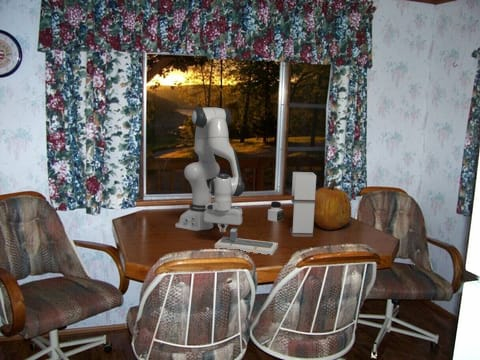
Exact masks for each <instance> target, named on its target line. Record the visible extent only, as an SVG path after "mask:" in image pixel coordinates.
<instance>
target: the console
mask: <svg viewBox="0 0 480 360" xmlns="http://www.w3.org/2000/svg"><path fill="white" fill-rule="evenodd" d="M237 239H238V242H236V241H229V240H230V236H222V237H221V238H220V239H219V240H218V241H217V242H215V244H214V249H219V250H220V248H227V249H240V250H243V251H246V252H245V253H250V252H253V253H252V254H258V253H261V254H260V255H267V254H270V255H269V256H273V255H274V253H275V251H277V249H278V247H279V246H278V245H279V242H275V241H263V240H256V239H255V240H254V239H246V238H240V237H239V238H238V237H237Z"/></svg>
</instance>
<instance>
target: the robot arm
mask: <svg viewBox="0 0 480 360" xmlns="http://www.w3.org/2000/svg"><path fill="white" fill-rule="evenodd" d="M191 122H192V124H193V125H194V126H195V134H194V146H193V147H194V148H193V149H194V152H195V154H197V156H198V161H197V162H192V163H189V164H188V165H186V166H185V168H184V170H183V173H184V177H185V179H186V180H187V181H188V182H189V184H190V186H191V191H192V193H191V194H192V196H191V197H192V202H190V203H189V204H188V206H187V207H188V209H187V210H186V211H184V212H183V213H182V214H181V215H180V217H179V220H178V222H175V224H174V225H175V226H174V227H175V228H178V229H183V230H184V229H185V230H189V231H194V232H195V231H203V230H204V231H206V230H210V229H213V228H214V224H217V226H218V228H219V232H220V233H226V232H227V228H228V226H229V225H233V226H234V225H235V226H240V225H241V224H243V209H242V208H241V206H232V203H233V202H232V200H233V199H232V197H240V196H242V194H243V193H244V192H245V184H244V181H243V177H242V172H241V169H240V165H239V158H238V154H237V152H236V149H235V148H234V147H233V146H232V145H231V143H230V138H229V128H228V126H229V125H231V122H232V114H231V112H230V110H229V109H227V108H224V107H222V108H221V107H220V108H219V107H215V106H214V107H213V106H212V107H195V108H194V109H193V111H192V113H191ZM215 155H216V156H218V157H221V158H224V159H226V160H227V161H228V162H229V164H230V169H231V173H232V177H231V176H230V175H229V174H228V173H220V172H221V171H220V170H221V168H220V164H219V163H218V162H217V161H216V157H215ZM207 180H210V182H209V186H208V182H207ZM212 196H214V201H213V202H212ZM222 225H224V227H222Z"/></svg>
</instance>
